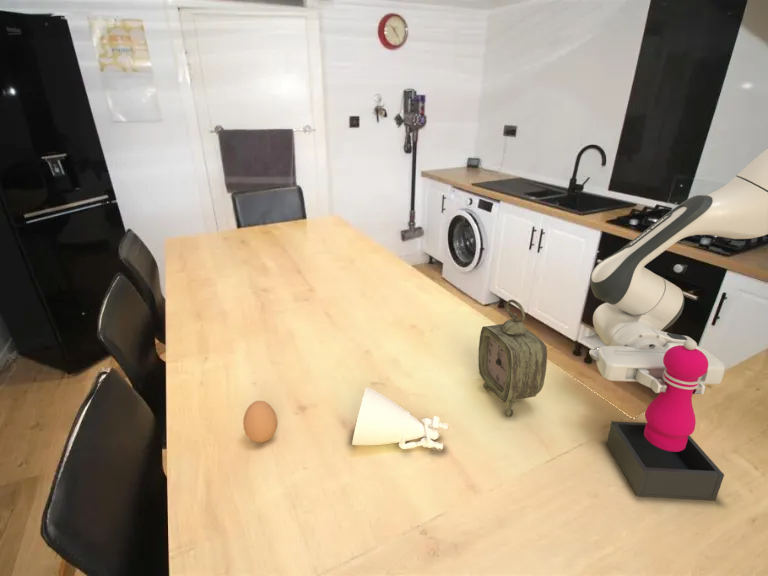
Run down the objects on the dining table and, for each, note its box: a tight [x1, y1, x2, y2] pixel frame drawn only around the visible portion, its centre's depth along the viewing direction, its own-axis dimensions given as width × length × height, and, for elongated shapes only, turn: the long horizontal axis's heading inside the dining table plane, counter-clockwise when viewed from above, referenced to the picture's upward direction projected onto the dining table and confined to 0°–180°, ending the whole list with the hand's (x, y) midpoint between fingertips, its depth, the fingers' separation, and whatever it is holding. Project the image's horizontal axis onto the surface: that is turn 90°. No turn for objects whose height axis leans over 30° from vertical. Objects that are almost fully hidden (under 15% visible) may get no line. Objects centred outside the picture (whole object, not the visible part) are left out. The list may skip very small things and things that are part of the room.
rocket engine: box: [351, 386, 449, 451], centre depth 82 cm, size 12×12×18 cm
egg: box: [242, 400, 278, 443], centre depth 84 cm, size 7×7×9 cm
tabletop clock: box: [477, 299, 548, 417], centre depth 92 cm, size 14×9×25 cm, turn 14°
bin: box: [606, 420, 725, 501], centre depth 74 cm, size 13×13×6 cm
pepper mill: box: [644, 338, 708, 452], centre depth 69 cm, size 7×7×20 cm
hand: (681, 390), depth 68 cm, fingers closed on pepper mill, 4 cm apart
